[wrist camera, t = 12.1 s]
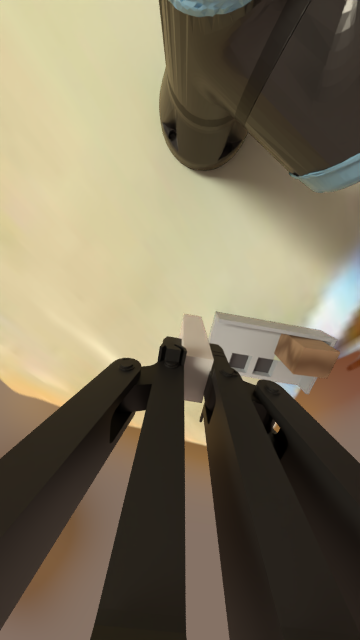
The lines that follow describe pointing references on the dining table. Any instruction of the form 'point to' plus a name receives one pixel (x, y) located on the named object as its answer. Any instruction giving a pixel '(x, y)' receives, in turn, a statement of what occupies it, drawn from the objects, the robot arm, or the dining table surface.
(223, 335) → the deck
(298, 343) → the block
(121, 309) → the dining table surface
